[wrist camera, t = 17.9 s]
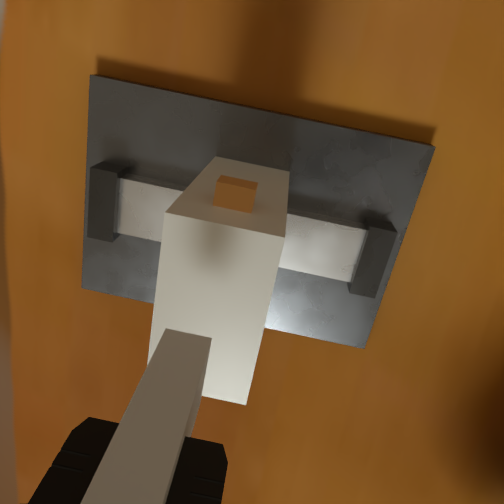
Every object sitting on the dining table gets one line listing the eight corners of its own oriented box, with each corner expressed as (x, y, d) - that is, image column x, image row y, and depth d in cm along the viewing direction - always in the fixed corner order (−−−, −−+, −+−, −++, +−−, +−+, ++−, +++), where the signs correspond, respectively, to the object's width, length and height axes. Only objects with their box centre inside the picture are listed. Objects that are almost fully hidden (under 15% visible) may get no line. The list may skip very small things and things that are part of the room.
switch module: (217, 139, 26) (167, 186, 16) (293, 155, 26) (291, 212, 16) (197, 274, 29) (144, 383, 19) (263, 288, 29) (245, 404, 19)
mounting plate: (430, 144, 26) (445, 152, 23) (362, 340, 31) (368, 365, 29) (97, 74, 26) (75, 75, 23) (87, 281, 32) (69, 300, 29)
